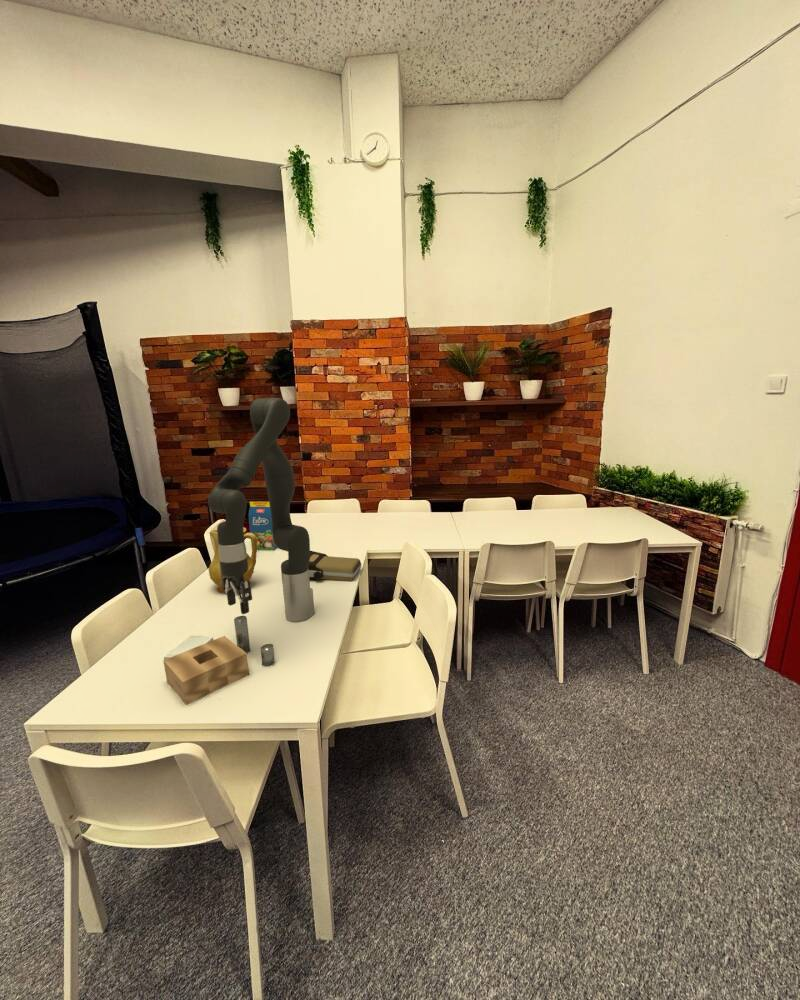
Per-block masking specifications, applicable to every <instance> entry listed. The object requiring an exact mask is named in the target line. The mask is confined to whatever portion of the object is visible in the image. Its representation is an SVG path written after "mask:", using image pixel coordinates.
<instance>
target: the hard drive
mask: <svg viewBox="0 0 800 1000" xmlns="http://www.w3.org/2000/svg"><path fill="white" fill-rule="evenodd" d="M213 640H214V637H213V636H203V635H194V634H193V635H189V636H188V637H187V638H186V639H184V641H182V642H181V643H179V644H178V645H177V646H176V647H175V648H173V649H172V650H171V651H170V652H169V653H167V654H166V655H165V656H164V657H163V660H165V659H168V658H170V657H173V656H175V655H178V654H180V653H183V652H185V651H188V650H190V649H193V648H195V647H198V646H200V645H203V644H205V643H208V642H210V641H213Z"/></svg>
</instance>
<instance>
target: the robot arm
mask: <svg viewBox="0 0 800 1000" xmlns="http://www.w3.org/2000/svg"><path fill="white" fill-rule="evenodd" d="M249 415H250V417H249V418H250V421H251V425H252V428H253V431H254V436H252V438H251V439H250V440H249V441H248V442H247V443H246V444H245V445H244V446H243V447H242V448H241V449H240V450H239V451H238V452H237V454H236V455H235V457H234V459H233V461H232V463H231V465H230V467H229V468H228V471H227V473H225V474H224V476H222V478H221V479H220V480H219V481H218V482H217V483H216V485H214V487H213V488H212V490H211V491H210V493H209V495H208V500H207V501H208V502H207V504H208V508H209V509H210V510H211V511H213V512H214V513H216V514H223V515H226V516H225V521H222V522H220V523H218V524H217V527H216V530H217V535H218V543H219V548H218V552H219V562H220V571H221V577H222V588H223V590H225V592H226V593H225V595H226V599H227V605H229V606H233V605H236V604H237V599H236V597H237V598H238V600H239V605H240V613H241V614H242V615H245V614H248V613H249V612H250V606H249V605H250V604H249V603H250V601H252V600H253V594H252V585H251V581H250V580H247V581H245V579H244V576H243V575H244V574H245V573H246V572H247V571H248V563H247V554H248V553H247V546H246V543H245V541H246V540H244V532H243V527H244V524H245V518H246V513H247V508H248V507H247V506H248V503H247V499H246V496H245V495H244V493H243V492H242V491H241V490H240V489H243V488H246V487H247V488H248V486H250V485H251V483H252V481H253V479H254V477H255V475H256V473H257V471H258V469H259V466H260V465H262V468H263V469H262V470H263V475H264V482H265V487H266V492H267V497H268V502H269V504H270V510H271V519H272V533H273V540H274V543H275V545H276V547H277V548H276V549H279V550H282V551H285V552H287V556H288V557H287V559H286V560H284V561H283V562H281V564H280V571H281V582H282V592H283V604H284V614H285V619H286V620H287V621H289V622H295V623H297V622H298V623H299V622H303V621H307V620H309V618H311V617H312V615H314V614H315V602H314V590H313V588H312V587H311V581H310V580H309V567H308V565H309V561H310V551H311V542H310V541H311V540H310V535H309V531H308V529H307V528H306V527H304V526H301V525H297V524H293V523H292V519H291V513H290V511H291V510H290V509H291V508H290V507H291V506H290V505H291V502H292V499H293V496H294V493H295V489H296V480H295V475H294V469H293V465H292V463H291V462H290V460H289V458H288V457H287V456H286V454H285V453H284V451H283V450H282V448H281V446H279V443H278V441H277V439H278V437H279V436H280V434H282V432H283V430H284V429H285V427H286V426H287V424H288V423H289V421H290V418H291V408H290V405H289V404H288V402H287V401H286V400H285V399H284V398H280V397H265V398H256V399H254V400H252V402H251V404H250V409H249ZM261 463H262V464H261ZM225 583H226V585H225ZM240 590H241V591H240ZM233 591H234V592H233ZM238 591H239V592H238Z"/></svg>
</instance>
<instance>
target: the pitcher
mask: <svg viewBox="0 0 800 1000" xmlns="http://www.w3.org/2000/svg"><path fill="white" fill-rule="evenodd" d="M243 532H244V541H246V539H249V540H250V542H251V541H252V545H251V556H250V555H249V554H248V553H247V563H248V571H247V572H246V573H245V574H244V575H243V576H244V579H245V581H247V580H249V581H250V580H251V578H252V576H253V574H254V573H255V566H256V563H257V553H258V550H257V538H256V535H255V534H253V533H250V532H247V528H246V527H244V526H243ZM209 534H210V536H211V537H212V539H213V541H214V555H213V557H212V561H211V562H210V564H209V567H208V574H209V575H208V576H209V579H210V580H211V582H213V583H214V584H215V585H217V586H218V587H217V591H218V592H219V593H222V594H226V592H225V590H223V588H222V577H221V571H220V562H219V552H218V548H219V543H218V535H217V529H214V530H211V531H209ZM225 585H226V583H225ZM240 591H241V590H240ZM240 591H238V592H240ZM233 592H234V591H233Z"/></svg>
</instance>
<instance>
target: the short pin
mask: <svg viewBox="0 0 800 1000" xmlns="http://www.w3.org/2000/svg"><path fill="white" fill-rule="evenodd" d="M260 657H261V665H262V666H263V667H271V666H273V665H274V664H275V663H276V660H275V659H276V658H275V650H274V644H272V643H266V644H263V645H261V647H260Z"/></svg>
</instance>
